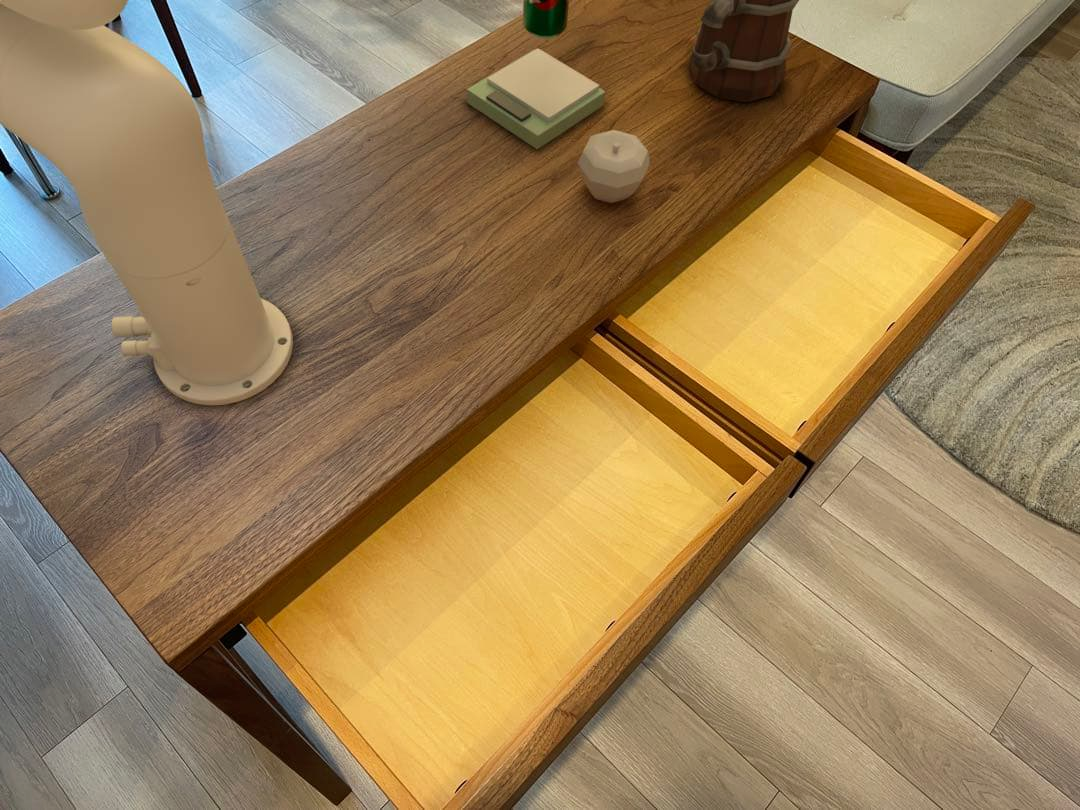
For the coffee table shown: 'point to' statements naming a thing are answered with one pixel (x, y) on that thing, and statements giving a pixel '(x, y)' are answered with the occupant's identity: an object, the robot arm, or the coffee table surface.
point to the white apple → (613, 165)
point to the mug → (742, 48)
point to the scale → (536, 97)
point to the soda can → (545, 17)
